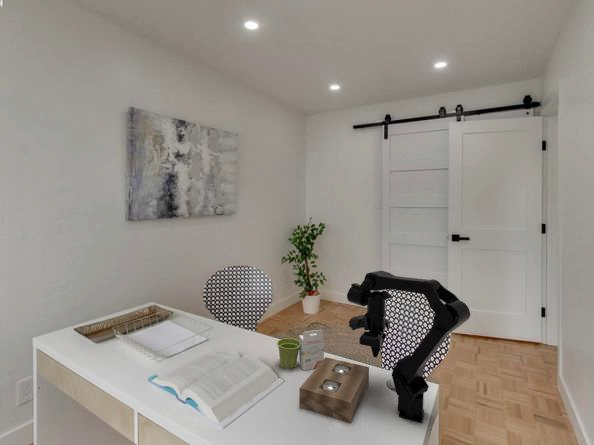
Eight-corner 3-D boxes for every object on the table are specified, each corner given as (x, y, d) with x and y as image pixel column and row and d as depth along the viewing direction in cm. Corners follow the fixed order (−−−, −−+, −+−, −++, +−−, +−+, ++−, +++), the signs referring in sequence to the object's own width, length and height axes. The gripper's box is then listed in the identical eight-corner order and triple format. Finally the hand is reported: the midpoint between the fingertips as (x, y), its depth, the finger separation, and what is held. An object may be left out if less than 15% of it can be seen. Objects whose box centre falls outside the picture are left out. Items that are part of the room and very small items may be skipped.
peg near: (340, 401, 99) (340, 383, 98) (335, 410, 94) (335, 391, 94) (325, 397, 101) (326, 379, 100) (320, 406, 96) (320, 387, 96)
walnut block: (368, 384, 109) (369, 367, 109) (350, 423, 89) (350, 402, 89) (325, 373, 116) (325, 357, 116) (299, 407, 96) (299, 388, 96)
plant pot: (301, 360, 126) (301, 338, 126) (300, 372, 117) (300, 349, 116) (277, 358, 126) (278, 337, 126) (274, 370, 117) (275, 347, 117)
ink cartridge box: (319, 361, 125) (319, 324, 124) (324, 367, 120) (324, 329, 119) (298, 364, 122) (298, 327, 121) (302, 371, 117) (303, 332, 117)
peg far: (350, 384, 109) (350, 367, 108) (346, 391, 104) (346, 374, 104) (337, 380, 111) (337, 364, 110) (332, 387, 106) (332, 370, 106)
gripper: (358, 299, 114) (358, 341, 115) (343, 314, 98) (342, 364, 98) (390, 303, 110) (389, 347, 110) (380, 320, 93) (379, 372, 94)
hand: (375, 356), depth 103 cm, fingers closed
